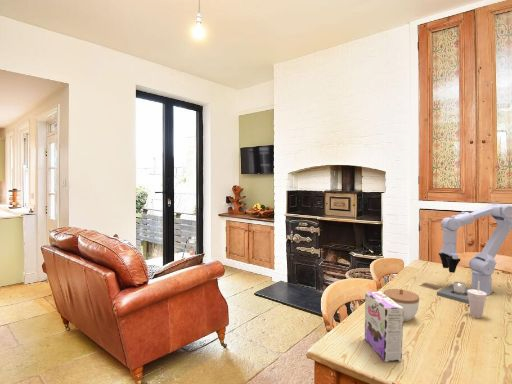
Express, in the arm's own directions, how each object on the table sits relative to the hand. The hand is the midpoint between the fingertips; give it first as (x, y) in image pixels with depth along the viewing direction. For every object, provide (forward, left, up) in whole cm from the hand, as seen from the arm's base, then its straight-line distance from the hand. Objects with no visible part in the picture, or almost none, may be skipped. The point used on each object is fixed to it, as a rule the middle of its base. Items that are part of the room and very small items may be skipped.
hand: (448, 270), depth 151 cm
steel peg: (+6, +7, -10) cm, 14 cm away
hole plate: (+4, +7, -10) cm, 13 cm away
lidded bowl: (+47, 0, -11) cm, 48 cm away
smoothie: (+22, +18, -11) cm, 30 cm away
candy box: (+75, +8, -11) cm, 76 cm away
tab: (+2, -7, -10) cm, 13 cm away
